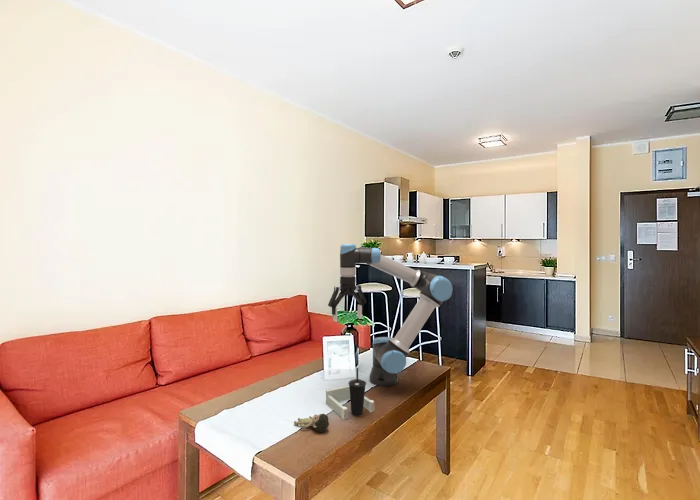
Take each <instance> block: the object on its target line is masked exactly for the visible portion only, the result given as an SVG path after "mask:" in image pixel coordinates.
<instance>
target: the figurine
mask: <svg viewBox="0 0 700 500" xmlns="http://www.w3.org/2000/svg"><path fill="white" fill-rule="evenodd" d="M293 425H294V426H295V427H296V426H298V425H299V427H300V428H302V429H307V428H309V427H313V428H314V429H315V430H316V431H318V432H325V431H326V430H327V429H328V427H329V425H330V422H329V416H328V415H327V414H325V413H320V414H314V415H313V416H310V415H309V416H308V417H304V418H300V417H298V418H297V421H296V420H294V421H293Z"/></svg>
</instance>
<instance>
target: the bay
mask: <svg viewBox="0 0 700 500" xmlns="http://www.w3.org/2000/svg"><path fill="white" fill-rule="evenodd" d="M347 400H348V401H349V400H350V389H349V384H348V385H345V386H341V387H336V388H330V389H326V390H325V403H326V405H328V407H330V408H331V409H332V410H333V411H334V412H335V413H336V414H337V415H338V416H339V417H340V418H341V419H342V420H344V421H345V420H348V407H346V406H343V405H342V404H341V403H340V402H343V401H347ZM363 408H365V409H366V410H367V411H368V412H369V413H374V412H375V401H374V400H373V399H370V398H368V397H367V396H366V395H364V404H363Z"/></svg>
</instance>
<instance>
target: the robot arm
mask: <svg viewBox="0 0 700 500" xmlns="http://www.w3.org/2000/svg"><path fill="white" fill-rule="evenodd" d="M339 251H340V253H339V275H340V276H339V286H334V288H333V292H332V295H331V297H330V299H329V302H328V304H327V306H328V307H330V308H331V314H332V315H333V318H332V320H333V321H334V322H336V323H337V322H338V306H339V303H341V301H342V300H343V298H344V297H345V296H347V297H348V296H353V298H354V299H355V300H356V302H357V303H358V304H357V318H358V319H361V320H362V319H363V318H362V317H363V311H364V306H365V304H367V303H368V301H367V299H366V296H365V295H364V292H363V290H362V285H360V284H357V285H356V283H357V282H356V274H357V272H356V271H357V268H356V266H357V264H365V265H368V266H371V267H373V268H375V269H378V270H379V271H382V272H383V273H386V274H387V275H391V276H392V277H395V278H397V279H399V280H401V281H404V282H406V283H408V284H409V285H410V286H411V287H412V288H415V289H416V290H418V291H420V292H419V299H418V301H417V302H416V304H415V306H414V307H413V309H412V310H411V311H410V312H409V314H408V316H407V317H406V319H405V321H404V322H403V323H402V325H401V327H400V329H399V330H398V331H397V333H396V335H394V337H391V336H379V337H378V336H377V337H375V338H374V339H372V366H371V370H370V372H369V373H370V374H369V375H368V376H369V377H368V379H369V382H370V383H371V384H373V385H374V386H378V387H379V386H380V387H388V386H394V385H396V384H397V383H398V382H399V379H398V378H399V377H398V373H400V372H402V371H403V370H404V369H405V368H406V365H407V357H408V356H409V354H410V347H411V345H412V344H413V342H414V341H415V339H416V337H417V336H418V334H419V333H420V331H421V330H422V328H423V327H424V325H425V323H427V321H428V319H429V317H430V316H431V314H432V312H434V309H436V308H440V306H441V305H442V304H443V302H445V301H448V300H449V299H450V298H451V297H452V294H453V291H454V290H453V284H452V283H451V281H450V280H449V279H448V278H446V277H445V276H443V275H438V274H435V273H429V272H425V271H422V270H421V269H417V270H416V269H413V268H411V267H409V266H407V265H405V264H402V263H401V262H398V261H396V260H393V259H391V258H389V257H387V256H385V255H383V254H381V250H380V248H378V247H365V246H359V247H357V246H356V244H355V243H343V244H341V245H340V250H339ZM356 291H357V292H356Z"/></svg>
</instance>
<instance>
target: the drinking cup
mask: <svg viewBox="0 0 700 500" xmlns="http://www.w3.org/2000/svg"><path fill="white" fill-rule="evenodd" d="M348 385H349V389H350V399H349V400H350V401H349V402H350V412H351V415H352V416H355V417H360V416H362V415H363V413H364V407H363V404H364V396H365V394H366V393H365V391H366V385H367V382H366V380H363V379H360V378H359V368H358V367H356V378H354V379H351V380H349V381H348Z"/></svg>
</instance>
